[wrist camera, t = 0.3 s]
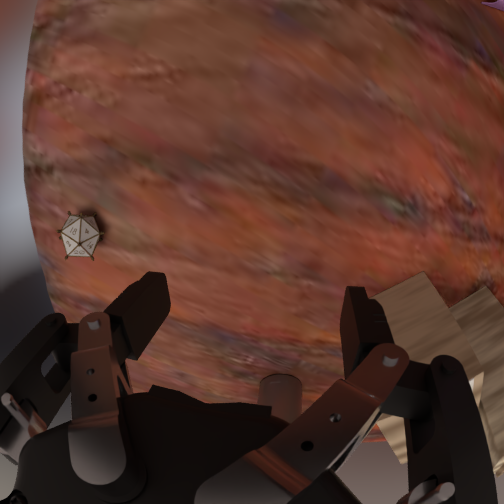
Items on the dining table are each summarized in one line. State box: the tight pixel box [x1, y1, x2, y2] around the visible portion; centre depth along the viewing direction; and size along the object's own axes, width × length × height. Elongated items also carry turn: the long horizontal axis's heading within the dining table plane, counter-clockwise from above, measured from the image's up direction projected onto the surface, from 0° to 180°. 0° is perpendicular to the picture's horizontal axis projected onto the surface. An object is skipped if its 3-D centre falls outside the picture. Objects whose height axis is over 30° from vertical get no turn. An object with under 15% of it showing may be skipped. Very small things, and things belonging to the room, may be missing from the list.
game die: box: [57, 211, 104, 261], centre depth 41 cm, size 9×8×10 cm
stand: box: [369, 271, 504, 477], centre depth 31 cm, size 30×27×33 cm
